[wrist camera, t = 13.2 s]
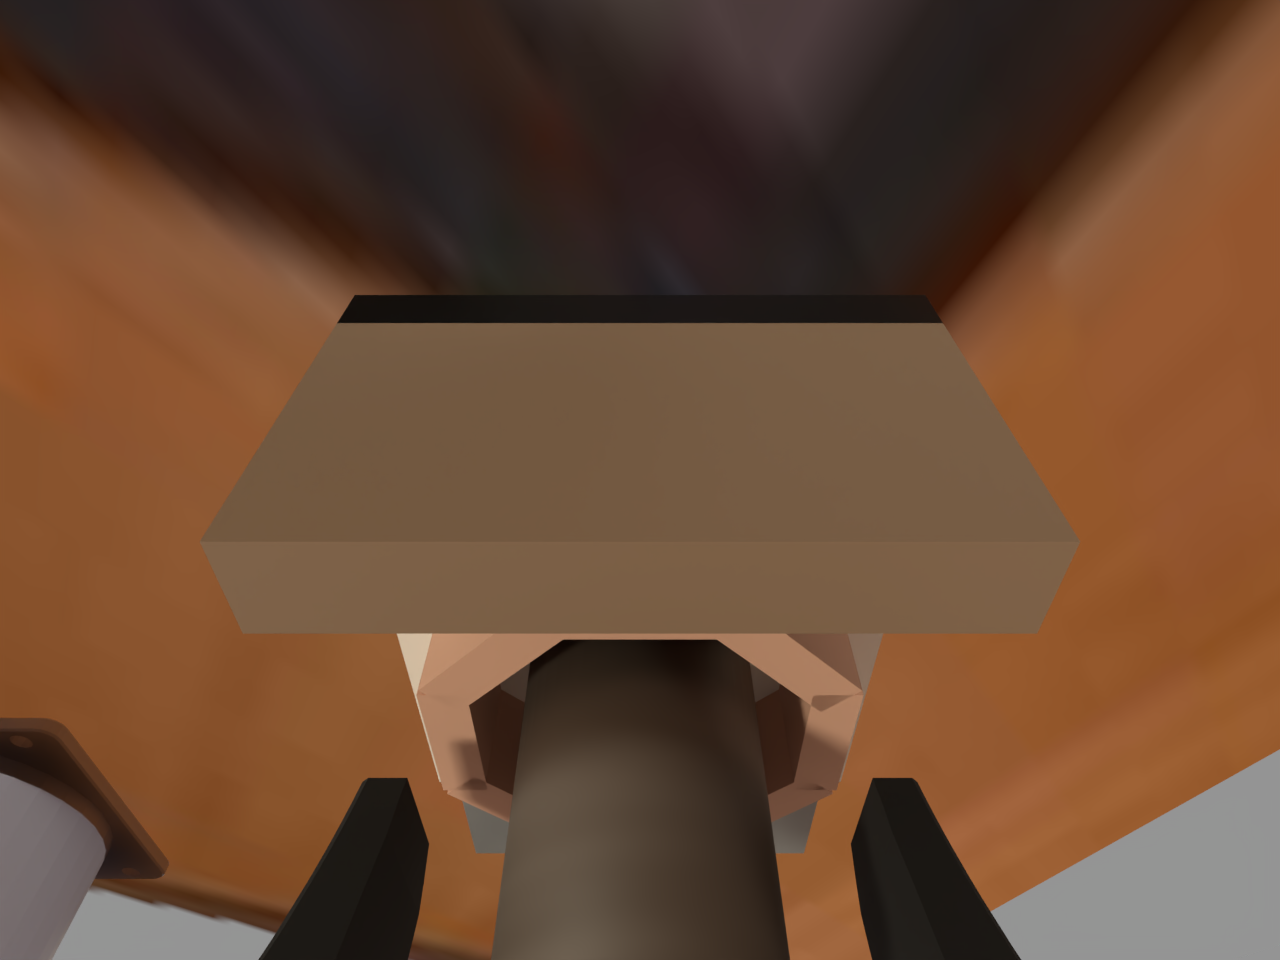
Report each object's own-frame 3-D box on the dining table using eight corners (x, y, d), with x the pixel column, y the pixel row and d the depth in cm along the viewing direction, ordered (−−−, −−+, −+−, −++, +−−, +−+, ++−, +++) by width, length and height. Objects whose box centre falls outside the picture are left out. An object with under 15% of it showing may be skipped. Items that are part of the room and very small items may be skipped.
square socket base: (451, 723, 19) (420, 871, 16) (373, 409, 13) (305, 554, 11) (828, 724, 19) (859, 871, 16) (906, 408, 13) (974, 553, 11)
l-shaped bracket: (481, 820, 24) (442, 1058, 19) (354, 295, 13) (200, 542, 9) (798, 820, 24) (837, 1058, 19) (925, 295, 13) (1079, 541, 9)
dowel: (503, 678, 16) (430, 1130, 10) (584, 543, 13) (546, 1030, 8) (684, 730, 17) (706, 1163, 11) (787, 613, 14) (878, 1085, 9)
